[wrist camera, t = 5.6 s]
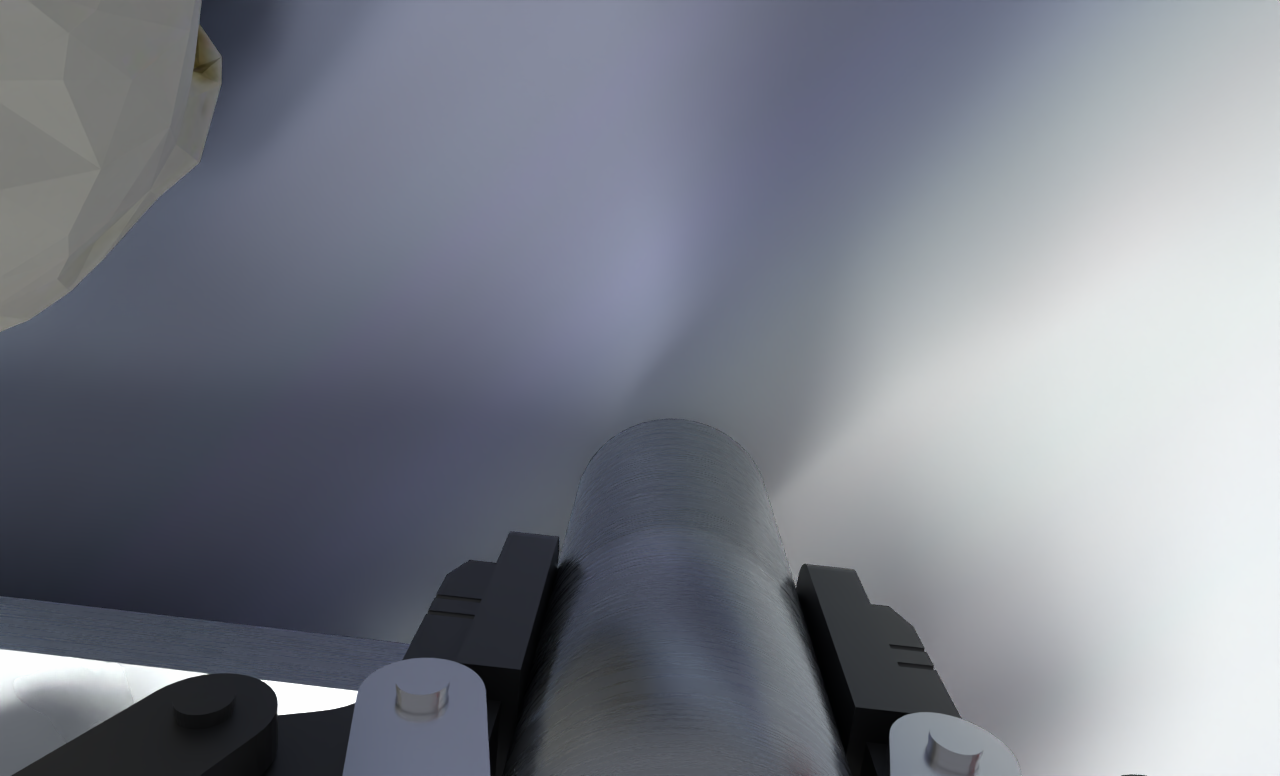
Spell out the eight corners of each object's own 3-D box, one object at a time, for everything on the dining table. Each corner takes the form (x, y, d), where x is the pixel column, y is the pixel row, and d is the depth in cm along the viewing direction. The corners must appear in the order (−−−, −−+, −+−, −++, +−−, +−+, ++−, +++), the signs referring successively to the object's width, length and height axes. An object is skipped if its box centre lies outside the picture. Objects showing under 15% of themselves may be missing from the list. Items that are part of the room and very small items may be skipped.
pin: (567, 587, 17) (356, 1516, 5) (584, 408, 16) (373, 1065, 4) (753, 607, 17) (944, 1578, 5) (781, 430, 16) (1080, 1143, 4)
